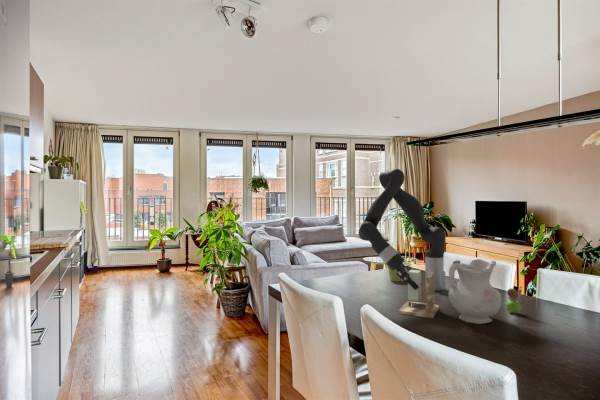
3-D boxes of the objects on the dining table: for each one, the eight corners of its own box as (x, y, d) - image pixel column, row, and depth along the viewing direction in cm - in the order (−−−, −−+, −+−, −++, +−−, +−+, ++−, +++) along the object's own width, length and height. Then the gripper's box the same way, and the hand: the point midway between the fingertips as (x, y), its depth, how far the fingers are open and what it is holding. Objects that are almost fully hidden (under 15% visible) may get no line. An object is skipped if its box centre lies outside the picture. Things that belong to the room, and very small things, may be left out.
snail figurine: (517, 316, 152) (517, 287, 152) (502, 312, 158) (502, 284, 158) (525, 314, 155) (525, 286, 154) (510, 310, 160) (510, 282, 160)
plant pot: (403, 282, 212) (403, 267, 212) (387, 281, 215) (386, 267, 214) (403, 279, 221) (403, 264, 221) (387, 278, 224) (387, 264, 223)
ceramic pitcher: (477, 334, 136) (482, 268, 134) (433, 316, 152) (437, 257, 150) (509, 323, 147) (514, 262, 145) (465, 307, 164) (469, 252, 162)
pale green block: (407, 299, 161) (407, 271, 160) (410, 296, 165) (410, 269, 165) (418, 300, 158) (418, 272, 158) (420, 297, 163) (420, 270, 163)
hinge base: (398, 313, 157) (398, 275, 157) (407, 303, 171) (407, 269, 171) (433, 318, 151) (433, 279, 150) (439, 307, 165) (439, 272, 164)
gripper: (393, 254, 159) (421, 285, 153) (401, 250, 172) (428, 278, 166) (381, 265, 162) (408, 296, 156) (390, 260, 174) (416, 288, 169)
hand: (418, 287), depth 161 cm, fingers closed on pale green block, 5 cm apart
